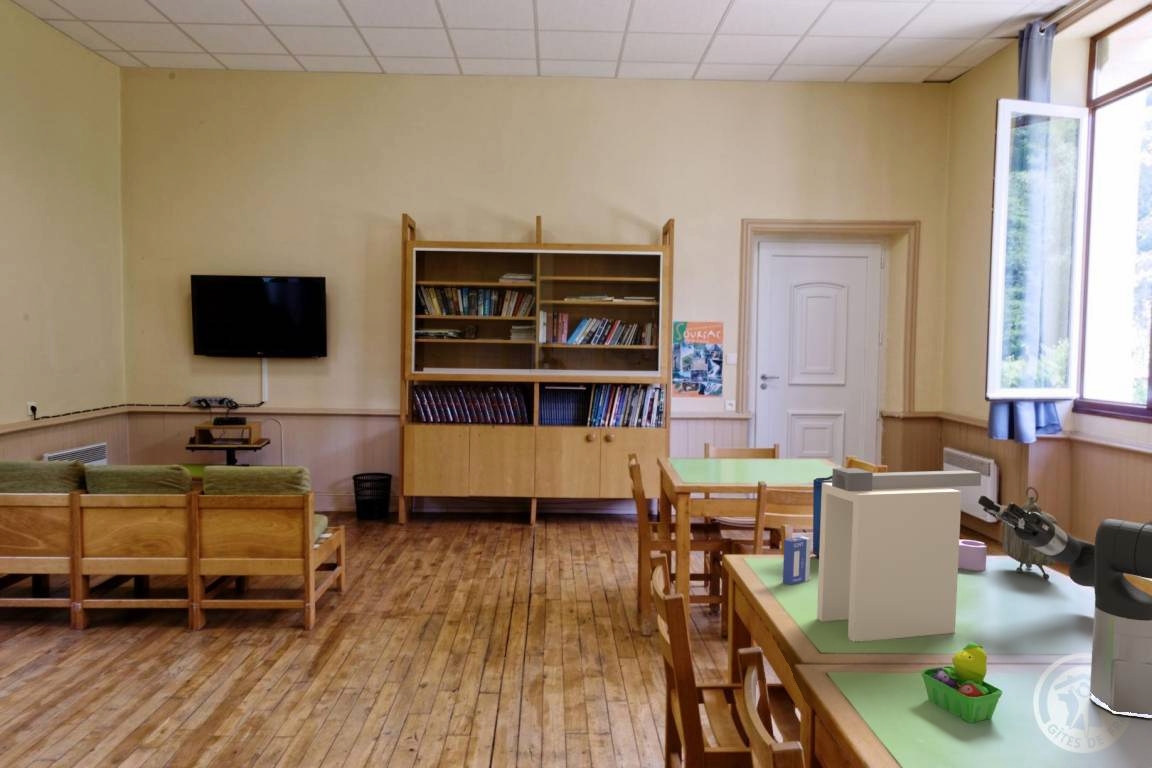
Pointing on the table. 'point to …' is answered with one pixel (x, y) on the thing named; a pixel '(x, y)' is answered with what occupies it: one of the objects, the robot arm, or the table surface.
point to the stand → (889, 561)
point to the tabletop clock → (1022, 549)
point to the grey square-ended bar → (901, 479)
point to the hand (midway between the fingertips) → (994, 502)
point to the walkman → (796, 560)
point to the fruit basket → (963, 685)
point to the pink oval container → (972, 555)
